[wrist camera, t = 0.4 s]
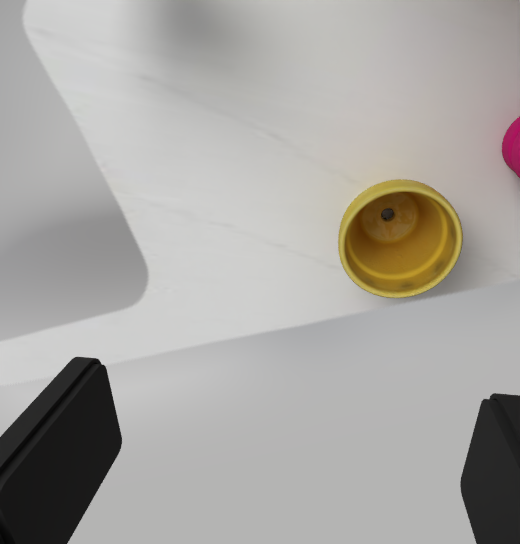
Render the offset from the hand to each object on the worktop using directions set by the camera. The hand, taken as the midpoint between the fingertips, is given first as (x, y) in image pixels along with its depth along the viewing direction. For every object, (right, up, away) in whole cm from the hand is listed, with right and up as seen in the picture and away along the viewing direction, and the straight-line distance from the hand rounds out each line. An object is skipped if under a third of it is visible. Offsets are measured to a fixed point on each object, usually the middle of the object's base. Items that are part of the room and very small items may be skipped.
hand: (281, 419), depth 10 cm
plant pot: (+13, +10, +34) cm, 38 cm away
